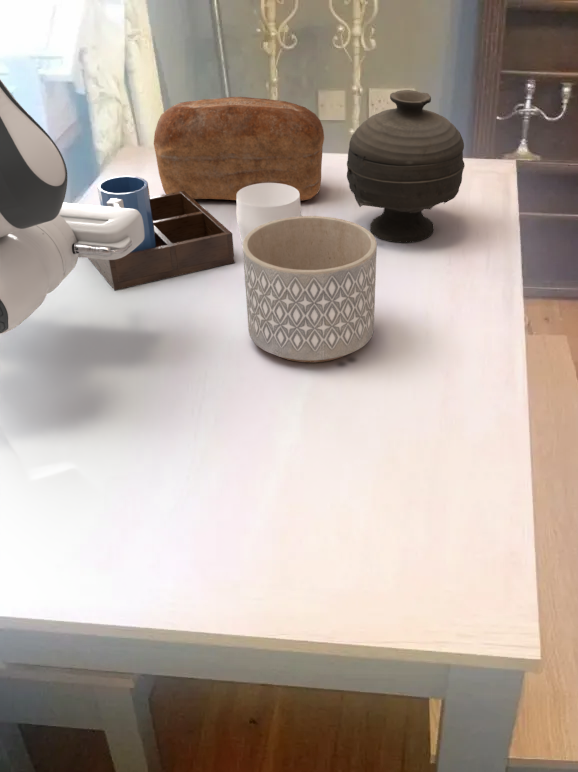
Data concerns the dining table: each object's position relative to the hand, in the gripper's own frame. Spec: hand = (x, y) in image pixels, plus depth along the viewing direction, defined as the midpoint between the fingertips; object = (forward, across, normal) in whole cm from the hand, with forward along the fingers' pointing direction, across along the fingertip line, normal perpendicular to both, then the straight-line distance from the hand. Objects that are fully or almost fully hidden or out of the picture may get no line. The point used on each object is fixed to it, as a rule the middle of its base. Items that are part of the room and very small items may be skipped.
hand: (83, 201), depth 114 cm
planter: (-3, -30, +14) cm, 34 cm away
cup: (+13, -21, +14) cm, 29 cm away
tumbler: (+12, 0, +13) cm, 18 cm away
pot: (+34, -37, +14) cm, 53 cm away
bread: (+44, -8, +15) cm, 47 cm away
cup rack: (+18, -1, +14) cm, 23 cm away
